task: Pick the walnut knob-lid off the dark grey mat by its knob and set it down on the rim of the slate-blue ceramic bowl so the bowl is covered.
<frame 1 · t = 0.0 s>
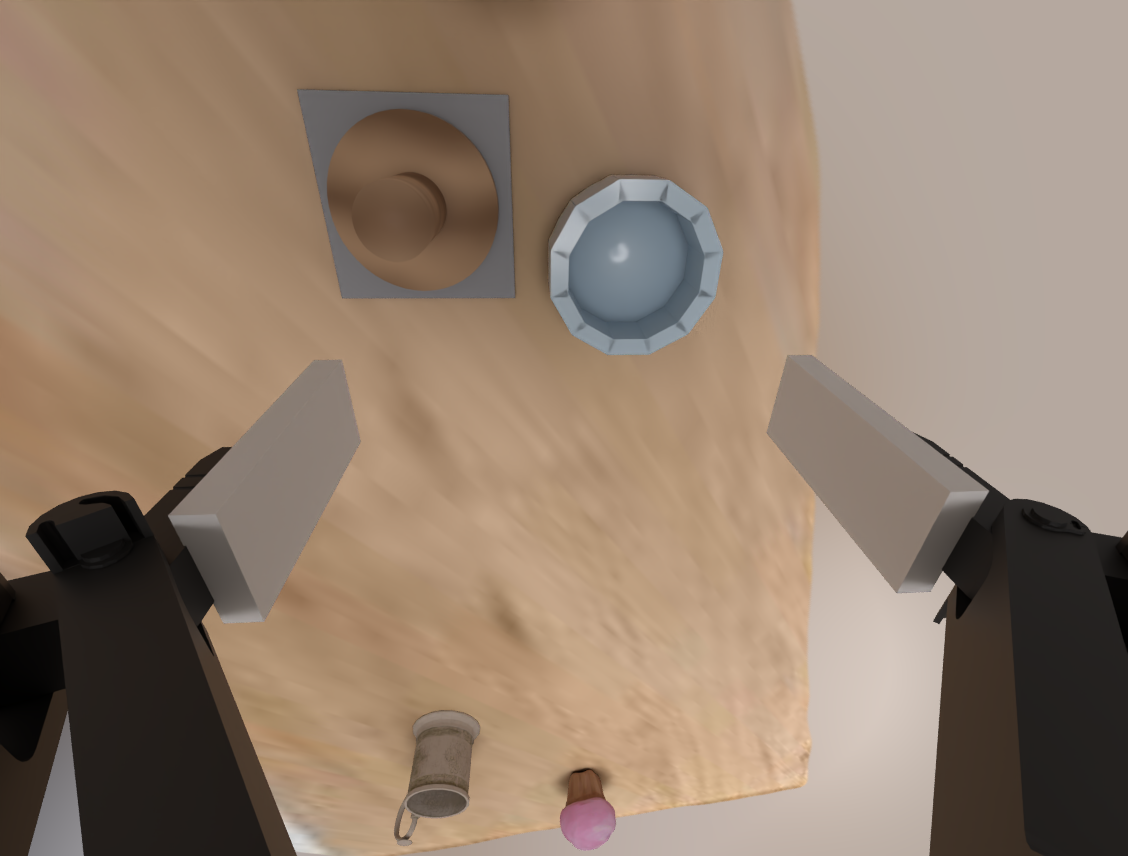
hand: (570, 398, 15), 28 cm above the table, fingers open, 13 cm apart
bowl: (624, 260, 40), on the table
cupcake: (583, 773, 84), on the table
lid: (418, 205, 37), resting on mat
mat: (419, 204, 37), on the table
mug: (437, 734, 75), on the table
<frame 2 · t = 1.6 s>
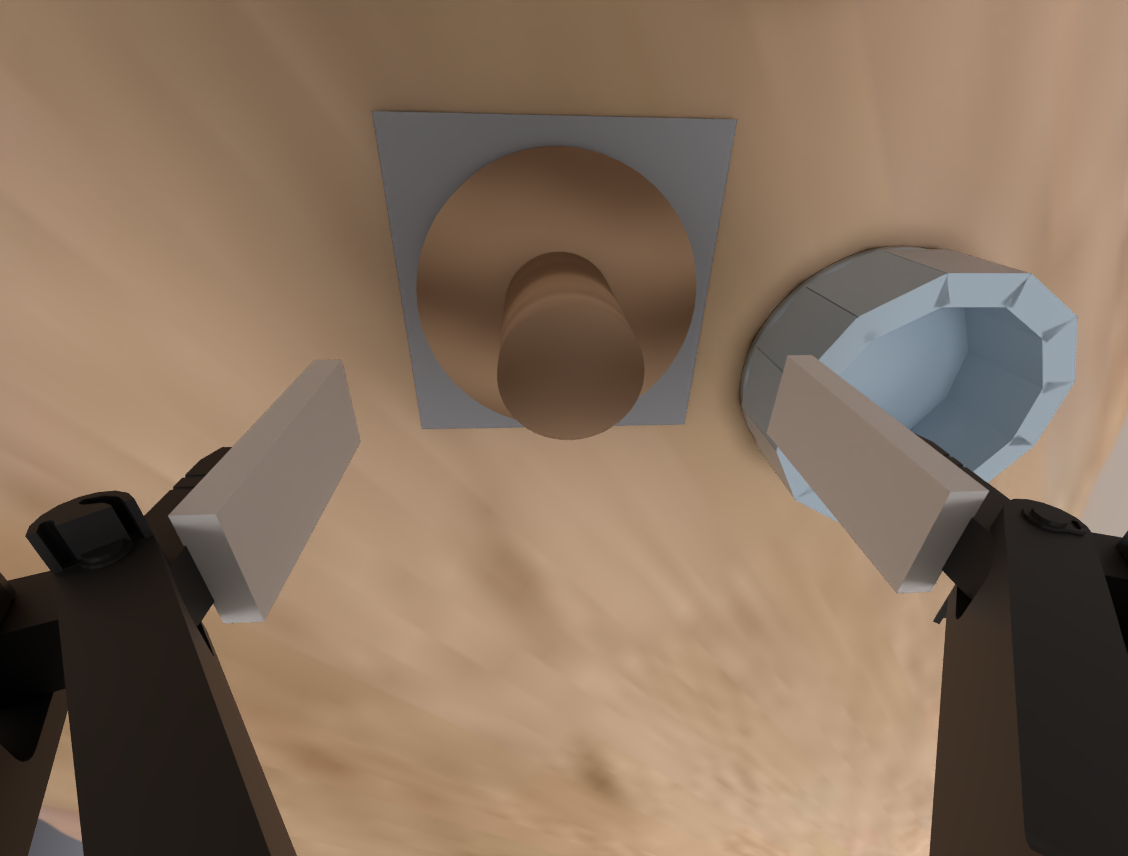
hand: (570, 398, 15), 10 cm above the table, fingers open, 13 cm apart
bowl: (857, 369, 26), on the table
lid: (556, 296, 22), resting on mat
mat: (556, 293, 23), on the table
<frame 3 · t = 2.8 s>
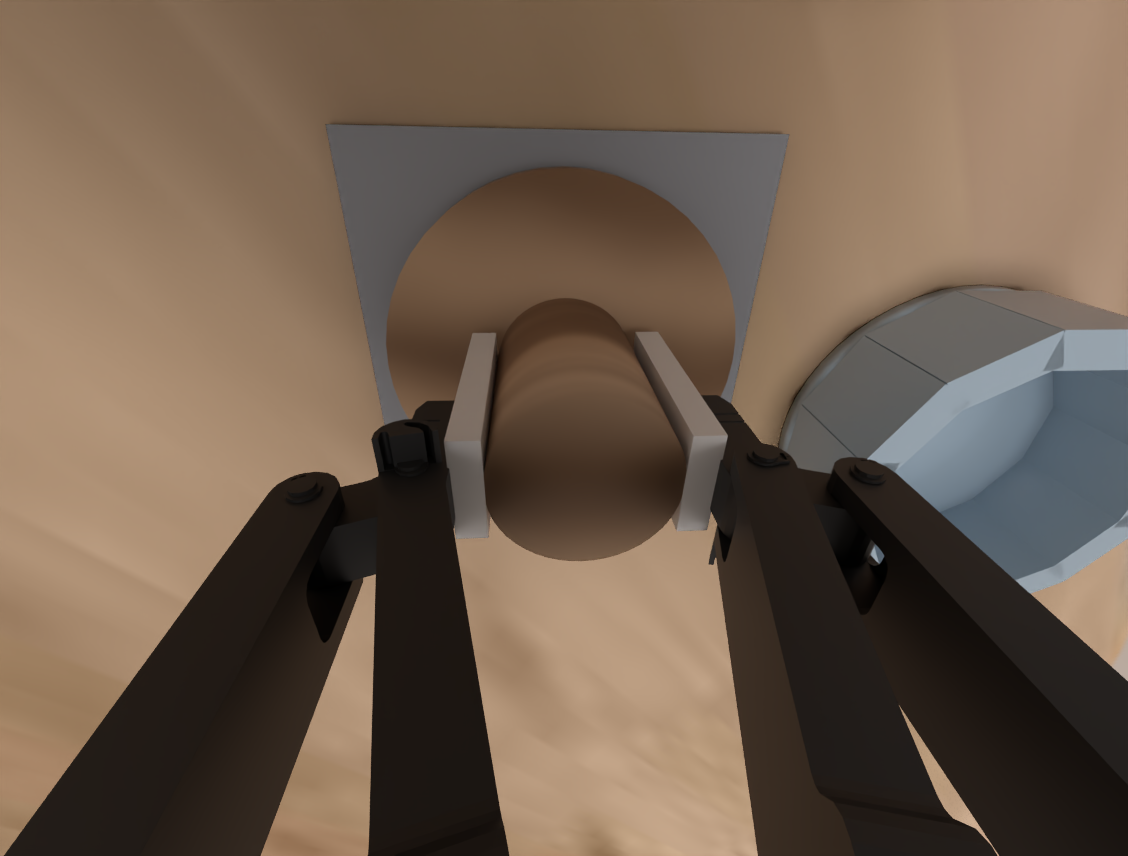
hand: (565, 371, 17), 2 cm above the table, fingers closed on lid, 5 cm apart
bowl: (917, 426, 22), on the table
lid: (561, 347, 18), resting on mat, touching gripper
mat: (560, 344, 19), on the table
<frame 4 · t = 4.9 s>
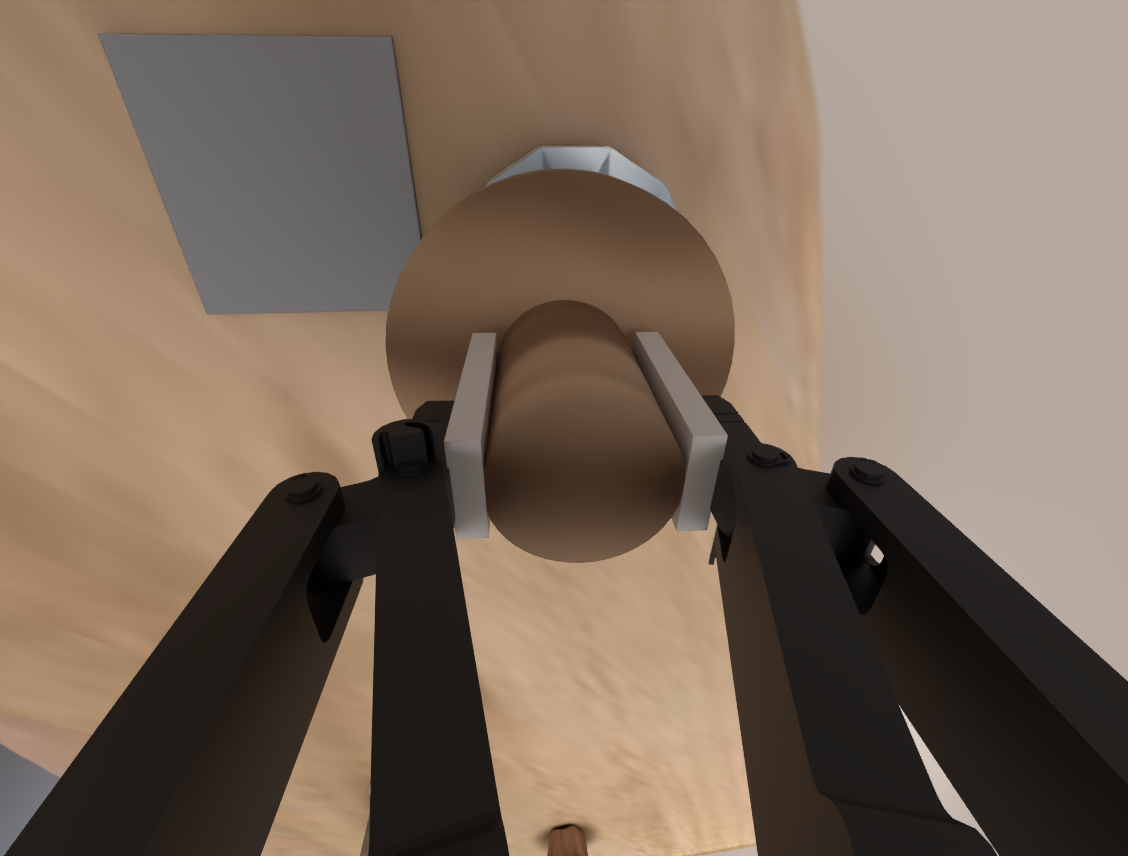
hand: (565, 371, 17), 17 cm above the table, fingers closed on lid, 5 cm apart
bowl: (568, 258, 31), on the table
cupcake: (566, 828, 75), on the table
lid: (561, 349, 18), point 15 cm above the table, touching gripper
mat: (291, 190, 28), on the table
when the fingers open (8 cm above the table, at t = 6.9 s): lid stays where it is, resting on bowl.
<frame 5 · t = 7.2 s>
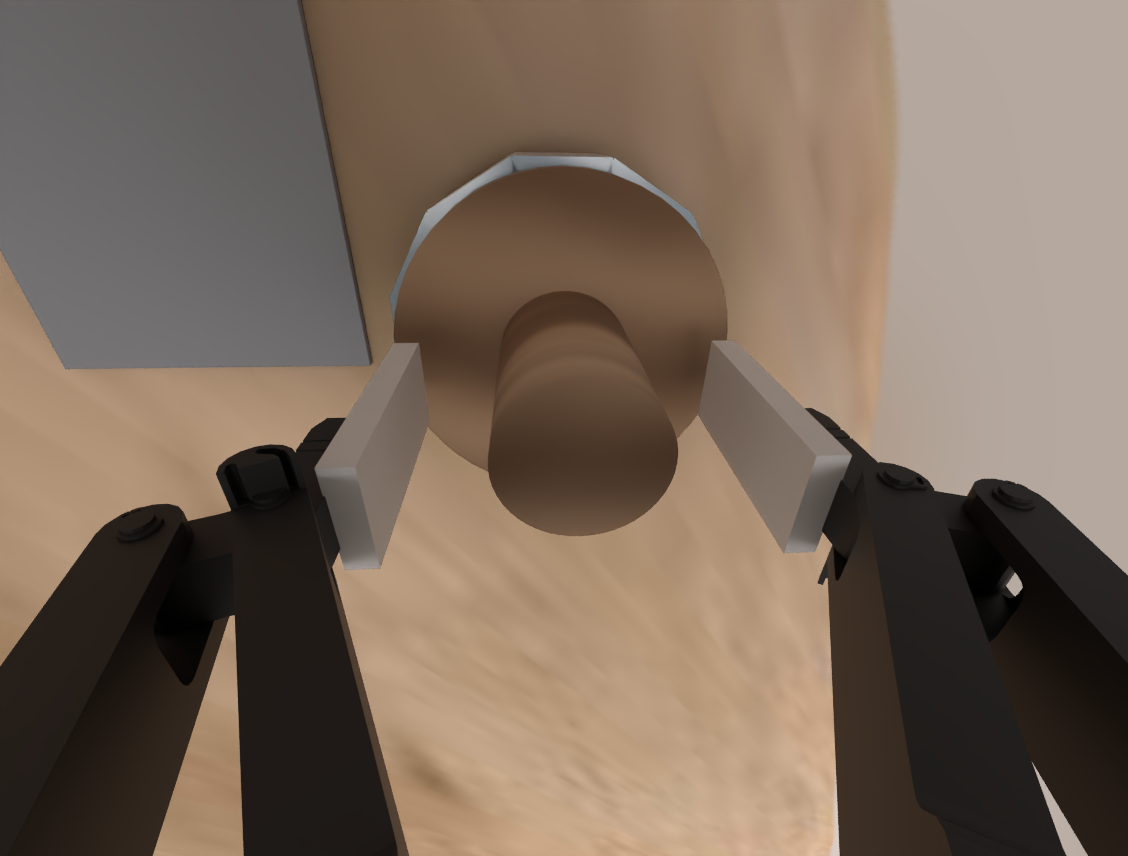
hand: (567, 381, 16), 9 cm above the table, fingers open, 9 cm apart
bowl: (553, 302, 23), on the table
lid: (561, 339, 19), point 5 cm above the table, touching bowl
mat: (168, 207, 20), on the table
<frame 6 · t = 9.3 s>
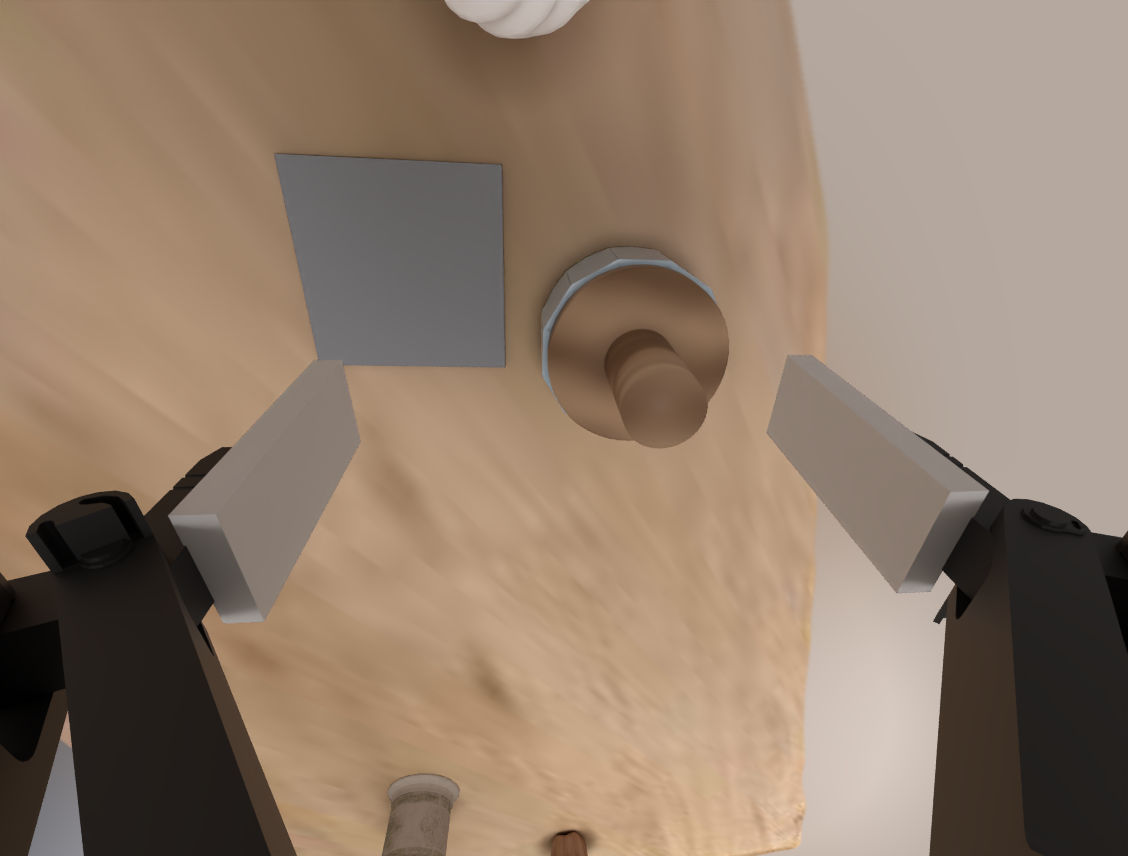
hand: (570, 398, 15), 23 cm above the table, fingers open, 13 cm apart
bowl: (621, 331, 38), on the table
cupcake: (568, 834, 80), on the table
lid: (634, 354, 34), point 5 cm above the table, touching bowl
mat: (404, 271, 35), on the table
mug: (414, 796, 71), on the table
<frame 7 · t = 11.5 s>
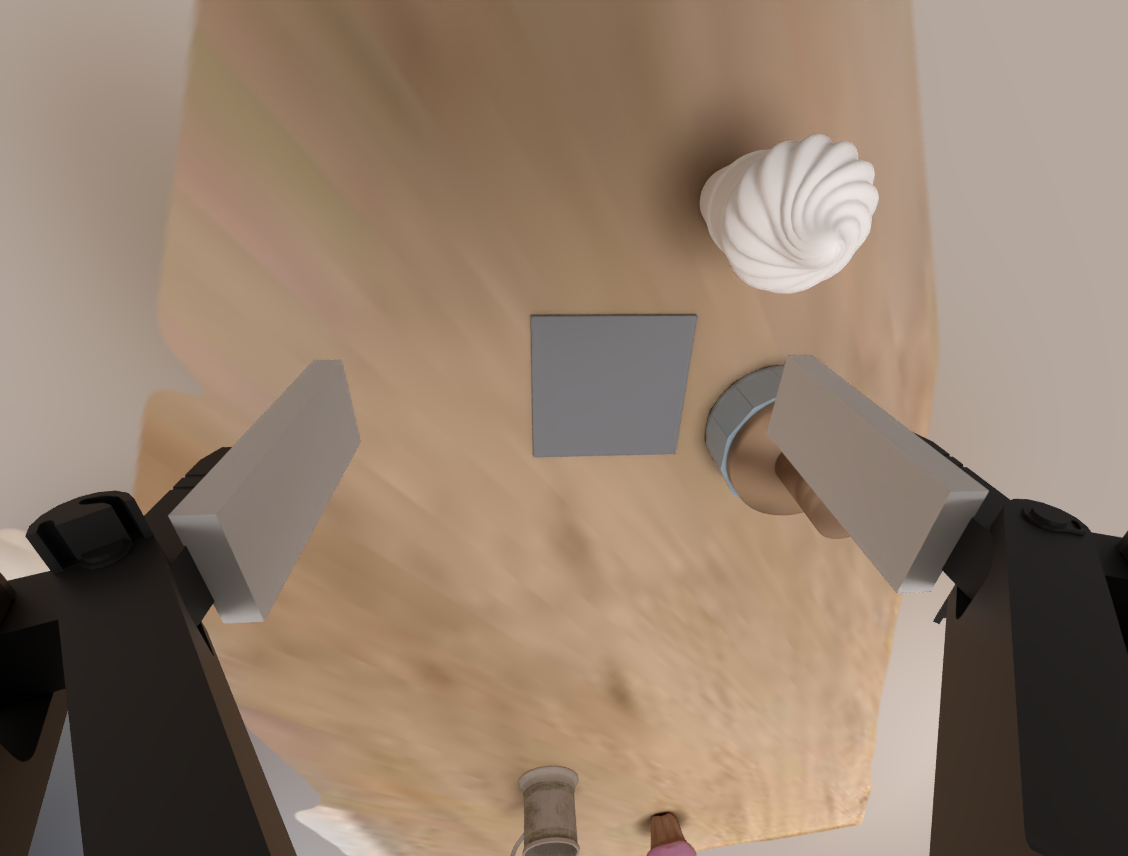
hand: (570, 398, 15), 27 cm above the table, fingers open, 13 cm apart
bowl: (768, 424, 48), on the table
cupcake: (662, 815, 92), on the table
lid: (793, 452, 44), point 5 cm above the table, touching bowl
mat: (609, 389, 45), on the table
mug: (539, 785, 82), on the table
soft serve ice cream cone: (726, 198, 37), on the table
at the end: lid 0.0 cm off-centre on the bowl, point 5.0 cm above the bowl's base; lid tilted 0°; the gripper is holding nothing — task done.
